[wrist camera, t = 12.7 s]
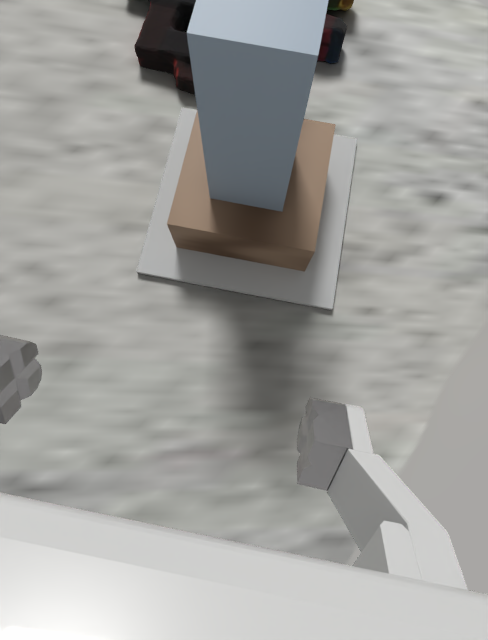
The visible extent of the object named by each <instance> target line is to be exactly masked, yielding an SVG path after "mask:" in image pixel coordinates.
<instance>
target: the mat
mask: <svg viewBox="0 0 488 640" xmlns="http://www.w3.org/2000/svg"><path fill="white" fill-rule="evenodd" d="M196 112H197V110H195V109H189V108H183V107H182V108H181V112H180V116H179V119H178V123H177V127H176V130H175V134H174V137H173V141H172V145H171V148H170V152H169V155H168V159H167V163H166V166H165V170H164V173H163V177H162V181H161V184H160V188H159V191H158V195H157V199H156V202H155V206H154V210H153V213H152V217H151V220H150V224H149V228H148V231H147V235H146V238H145V242H144V246H143V249H142V253H141V256H140V260H139V264H138V267H137V271H136V272H137V273H139V274H144V275H150V276H155V277H160V278H165V279H171V280H176V281H181V282H186V283H192V284H197V285H202V286H207V287H212V288H218V289H223V290H228V291H233V292H239V293H244V294H249V295H254V296H260V297H265V298H270V299H275V300H280V301H286V302H291V303H296V304H301V305H307V306H312V307H317V308H322V309H328V310H332V309H333V303H334V296H335V289H336V282H337V275H338V269H339V262H340V255H341V248H342V241H343V234H344V227H345V220H346V213H347V206H348V199H349V192H350V185H351V179H352V172H353V165H354V158H355V151H356V144H357V138H353V137H347V136H342V135H336V134H334V136H333V143H332V149H331V155H330V161H329V167H328V173H327V180H326V186H325V192H324V198H323V204H322V211H321V217H320V223H319V229H318V235H317V241H316V248H315V252H314V254H313V256H312V258H311V260H310V262H309V264H308V266H307V268H306V270H305V272H304V271H299V270H294V269H288V268H283V267H278V266H273V265H267V264H262V263H257V262H251V261H246V260H241V259H235V258H230V257H225V256H220V255H214V254H209V253H204V252H198V251H193V250H188V249H182V248H177V247H176V245H175V243H174V240H173V238H172V235H171V233H170V230H169V228H168V225H167V221H168V218H169V214H170V210H171V206H172V203H173V199H174V195H175V191H176V188H177V184H178V180H179V176H180V172H181V169H182V165H183V161H184V157H185V154H186V150H187V146H188V142H189V139H190V135H191V131H192V127H193V123H194V120H195V116H196Z"/></svg>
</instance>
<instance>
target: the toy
mask: <svg viewBox="0 0 488 640" xmlns="http://www.w3.org/2000/svg"><path fill="white" fill-rule="evenodd" d="M353 1H354V0H329V1H328V6H327V9H329V10H340V9H341V10H344V11H346V10H348V9H350V8H351V7H352V4H353ZM195 2H196V0H150V9H149V11H148V14H147V16H146V19H145V21H144V23H143V26H142V29H141V32H140V34H139V38H138V40H137V42H136V44H135V52H136V55H137V57H138V60H139V64H140V66H142V67H144V68H148V69H153V70H157V71H162V72H167V73H171V74H174V77H175V79H176V86H177V88H179V89H180V90H184V91H187V92H189V93H191V94H194V95H195V89H194V82H193V75H192V68H191V61H190V54H189V47H188V40H187V33H186V32H182V31H184V30H188V26H189V23H190V19H191V16H192V13H193V9H194V6H195ZM346 28H347V26H346V24H345V23H344V22H343V20H342V18H338V17H334V16H331V15H328V14H327V13H326V17H325V22H324V28H323V33H322V38H321V44H320V49H319V54H318V59H317V60H320V61H326V62H328V63H335V62H338V59H339V56H340V52H341V48H342V44H343V40H344V37H345V33H346Z"/></svg>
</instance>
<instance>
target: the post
mask: <svg viewBox="0 0 488 640" xmlns="http://www.w3.org/2000/svg"><path fill="white" fill-rule="evenodd" d="M328 1H329V0H196V2H195V6H194V9H193V13H192V16H191V19H190V23H189V26H188V30H187V40H188V47H189V54H190V61H191V68H192V75H193V82H194V89H195V96H196V103H197V110H198V117H199V124H200V132H201V139H202V146H203V153H204V160H205V167H206V174H207V181H208V188H209V195H210V198H212V199H217V200H222V201H228V202H233V203H238V204H244V205H249V206H254V207H260V208H265V209H270V210H276V211H281V212H282V211H283V206H284V202H285V198H286V193H287V189H288V185H289V180H290V176H291V172H292V167H293V163H294V159H295V154H296V150H297V146H298V141H299V137H300V133H301V128H302V124H303V120H304V115H305V111H306V107H307V102H308V98H309V94H310V89H311V85H312V81H313V76H314V72H315V67H316V63H317V59H318V54H319V49H320V44H321V38H322V33H323V28H324V22H325V17H326V12H327V6H328Z"/></svg>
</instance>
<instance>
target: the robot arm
mask: <svg viewBox="0 0 488 640" xmlns="http://www.w3.org/2000/svg"><path fill="white" fill-rule="evenodd" d="M37 355H38V349H37V345H36V344H35V343H33V342H30V341H25V340H21V339H16V338H12V337H8V336H3V335H0V423H2V424H6V423H7V422H8V421H9V420H10V419H11V418H12V417H13V415H14V414H15V413H16V412H17V411H18V410H19V409H20V408H21V400H22V399H25V398H27V397H29V396H31V395H32V394H33V393H34V392H35V390H36V389H37V388H38V385H39V383H40V381H41V377H42V369H41V365H40V364H39V362H38V361H37V360H36V359H35V357H36V356H37ZM297 450H298V451H299V453H300V456H299V459H298V462H297V484H300V485H305V486H309V487H313V488H317V489H322V490H326V491H327V493H328V495H329V496H330V498H331V500H332V502H333V504H334V505H335V507H336V509H337V511H338V512H339V514H340V516H341V518H342V519H343V521H344V523H345V525H346V526H347V528H348V530H349V532H350V533H351V535H352V537H353V539H354V541H355V542H356V544H357V546H358V548H359V549H360V551H361V554H360V555H359V557H358V558H357V560H356V561H355V562H354V564H353V565H352V566H351V565H346V564H341V563H336V562H331V561H327V560H322V559H317V558H312V557H307V556H303V555H298V554H293V553H288V552H283V551H279V550H274V549H269V548H264V547H260V546H255V545H250V544H245V543H240V542H235V541H231V540H226V539H221V538H216V537H211V536H207V535H202V534H197V533H192V532H187V531H183V530H178V529H173V528H168V527H163V526H158V525H154V524H149V523H144V522H139V521H134V520H130V519H125V518H120V517H115V516H110V515H106V514H101V513H96V512H91V511H86V510H82V509H77V508H72V507H67V506H62V505H57V504H53V503H48V502H43V501H38V500H33V499H29V498H24V497H19V496H14V495H9V494H5V493H0V640H488V594H484V593H480V592H475V591H471V590H468V589H467V586H466V583H465V580H464V577H463V574H462V571H461V569H460V566H459V563H458V560H457V557H456V554H455V551H454V549H453V546H452V543H451V540H450V537H449V534H448V532H447V531H446V530H445V529H444V528H443V527H442V525H441V524H440V523H439V522H438V521H437V520H436V519H435V517H434V516H433V515H432V514H431V513H430V512H429V511H428V510H427V508H426V507H425V506H424V505H423V504H422V503H421V502H420V500H419V499H418V498H417V497H416V496H415V495H414V494H413V493H412V491H411V490H410V489H409V488H408V487H407V486H406V485H405V484H404V483H403V481H402V480H401V479H400V478H399V477H398V476H397V475H396V473H395V472H394V471H393V470H392V469H391V468H390V467H389V465H388V464H387V463H386V462H385V461H384V460H383V459H382V458H381V456H380V455H377V454H374V452H373V447H372V443H371V439H370V434H369V430H368V426H367V421H366V417H365V413H364V409H363V408H362V407H360V406H354V405H349V404H342V403H337V402H332V401H326V400H321V399H316V398H311V397H310V398H309V400H308V402H307V405H306V415H305V416H304V417H302V419H301V422H300V426H299V431H298V437H297Z"/></svg>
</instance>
